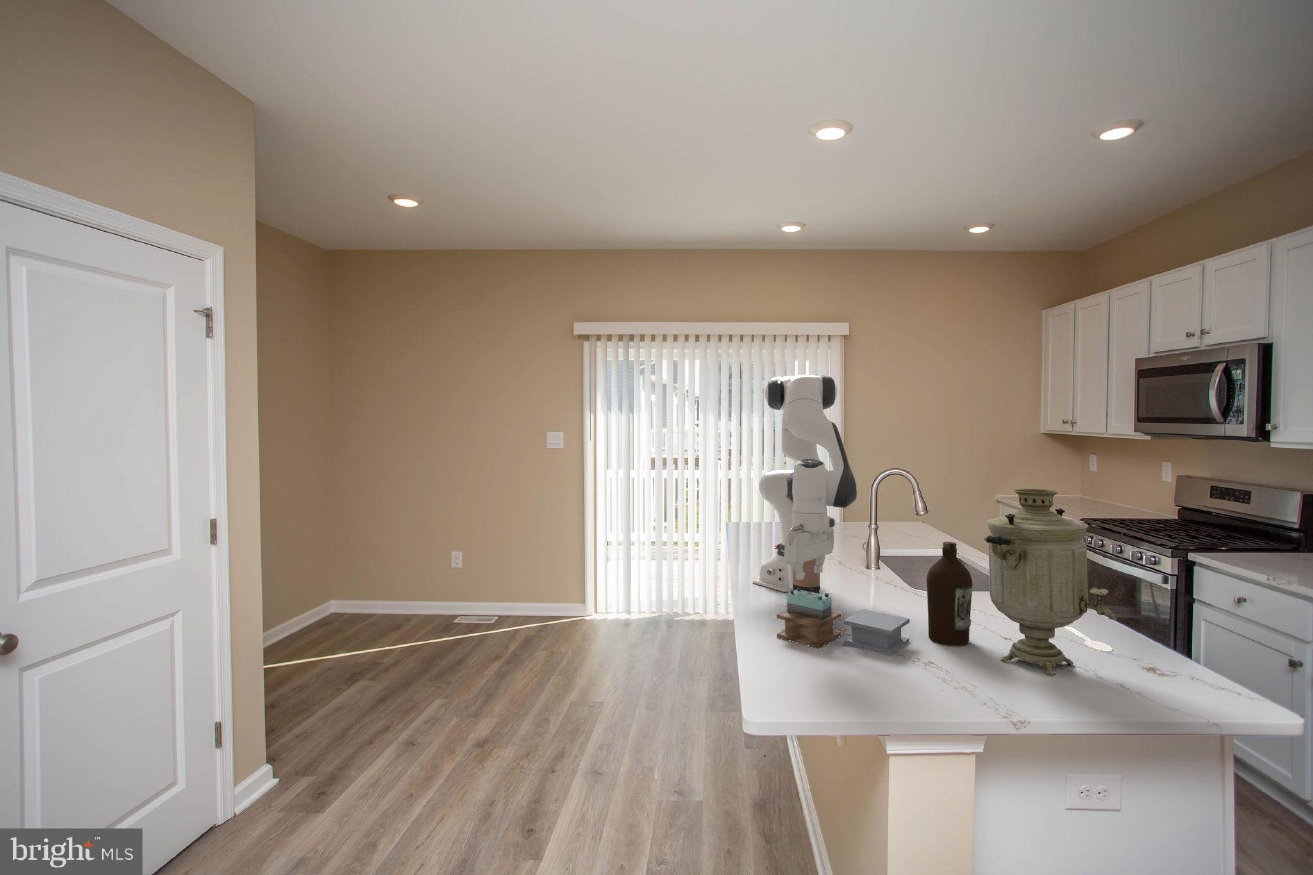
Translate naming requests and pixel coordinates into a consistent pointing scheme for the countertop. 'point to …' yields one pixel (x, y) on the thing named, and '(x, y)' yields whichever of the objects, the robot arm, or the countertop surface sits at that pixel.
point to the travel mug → (808, 578)
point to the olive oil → (949, 599)
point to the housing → (809, 604)
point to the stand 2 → (876, 631)
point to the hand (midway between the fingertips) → (809, 575)
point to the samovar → (1039, 575)
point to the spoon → (1090, 641)
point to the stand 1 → (808, 629)
